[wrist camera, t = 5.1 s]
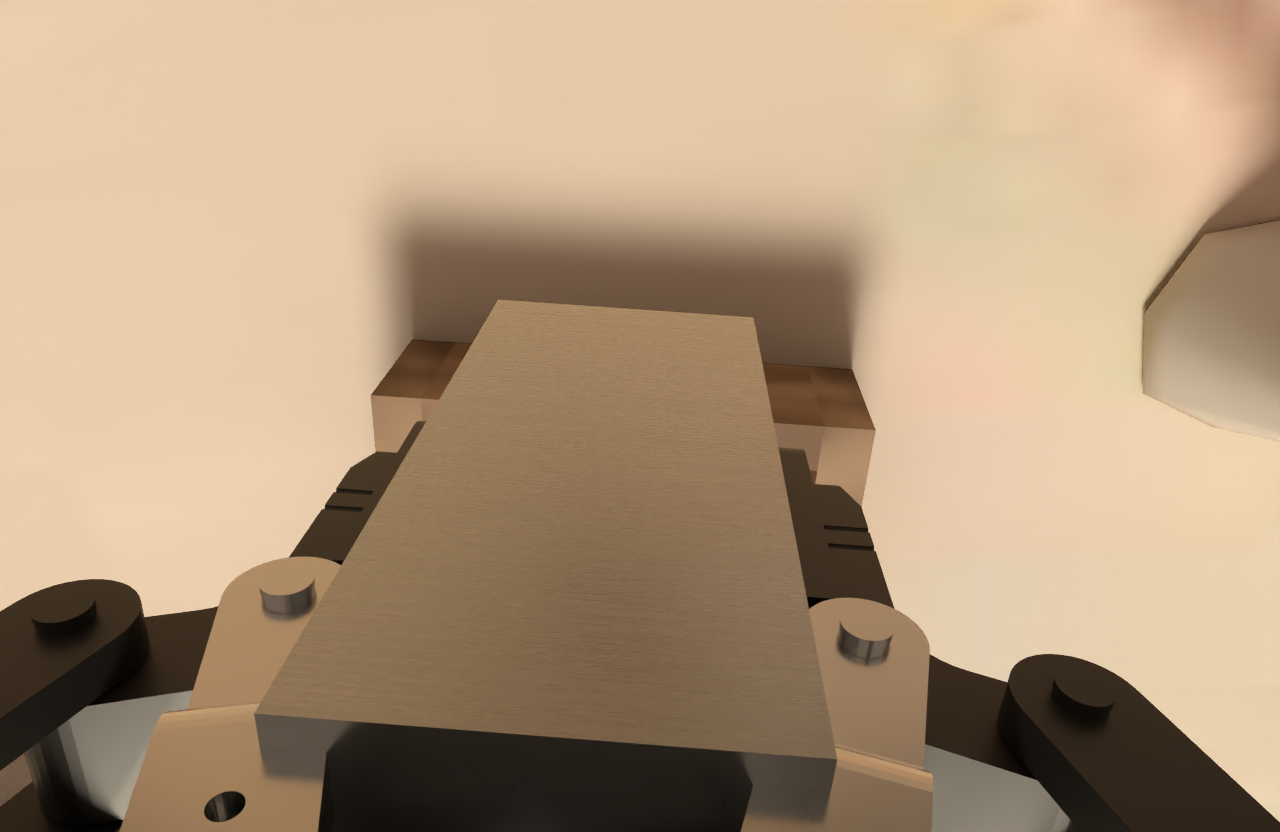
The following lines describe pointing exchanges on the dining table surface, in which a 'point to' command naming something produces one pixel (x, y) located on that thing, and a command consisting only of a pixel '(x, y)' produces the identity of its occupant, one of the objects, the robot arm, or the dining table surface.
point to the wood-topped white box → (571, 596)
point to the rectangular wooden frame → (799, 395)
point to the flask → (1220, 333)
